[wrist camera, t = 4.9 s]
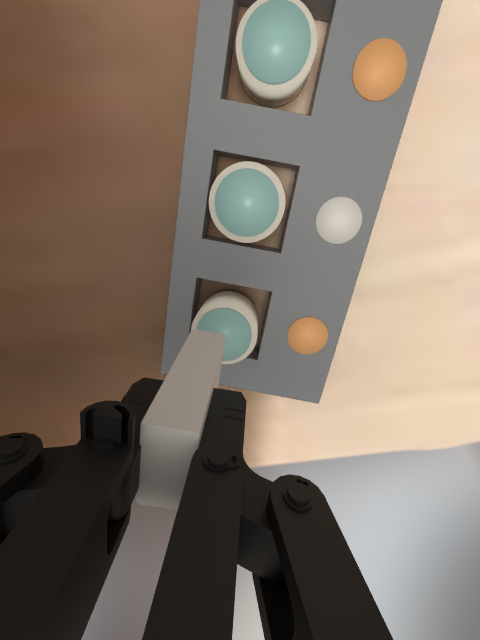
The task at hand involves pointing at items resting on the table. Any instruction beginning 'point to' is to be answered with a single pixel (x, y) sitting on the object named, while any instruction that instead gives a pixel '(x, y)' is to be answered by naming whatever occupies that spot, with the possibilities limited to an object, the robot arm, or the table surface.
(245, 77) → the button
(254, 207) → the button
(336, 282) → the board
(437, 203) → the table surface
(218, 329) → the button
